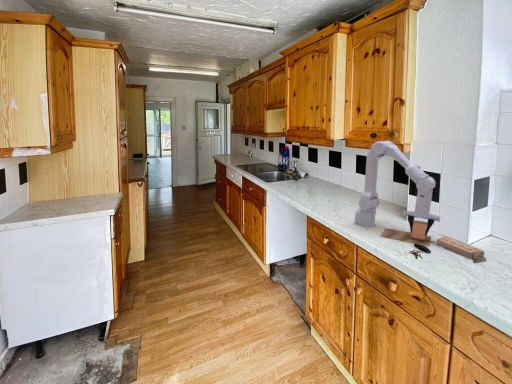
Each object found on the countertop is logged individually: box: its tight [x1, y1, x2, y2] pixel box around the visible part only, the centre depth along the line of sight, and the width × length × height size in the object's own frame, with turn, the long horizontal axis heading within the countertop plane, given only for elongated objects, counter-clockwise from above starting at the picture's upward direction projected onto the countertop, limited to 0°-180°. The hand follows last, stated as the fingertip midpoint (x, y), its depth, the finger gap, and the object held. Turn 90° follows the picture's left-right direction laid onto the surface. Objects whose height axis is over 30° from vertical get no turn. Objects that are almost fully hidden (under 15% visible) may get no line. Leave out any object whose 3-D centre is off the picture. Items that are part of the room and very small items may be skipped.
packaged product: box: [436, 235, 487, 264], centre depth 126 cm, size 18×5×10 cm
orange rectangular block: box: [411, 219, 428, 239], centre depth 137 cm, size 5×5×7 cm
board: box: [379, 227, 432, 248], centre depth 140 cm, size 20×14×1 cm
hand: (418, 233), depth 137 cm, fingers closed on orange rectangular block, 5 cm apart
